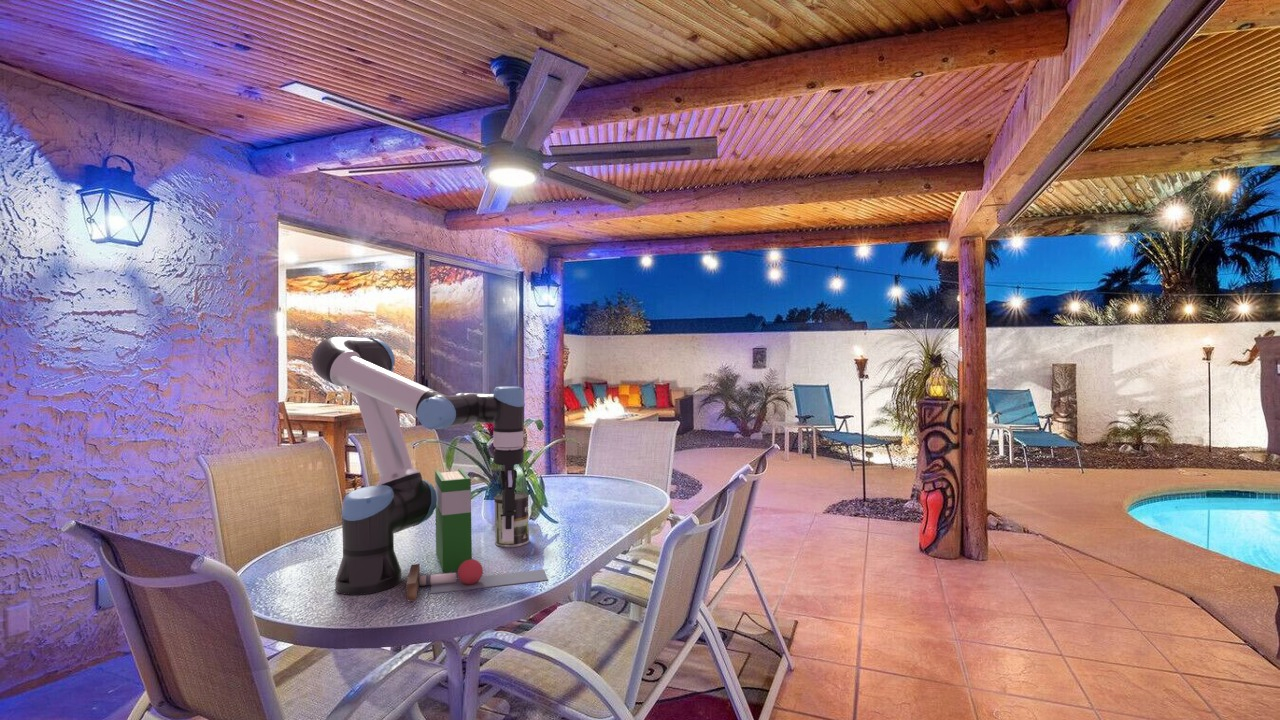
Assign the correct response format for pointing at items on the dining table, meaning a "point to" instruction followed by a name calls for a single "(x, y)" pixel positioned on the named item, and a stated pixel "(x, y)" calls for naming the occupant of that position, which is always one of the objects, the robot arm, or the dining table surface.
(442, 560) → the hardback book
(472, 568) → the ball
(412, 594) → the stopper wall
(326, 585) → the dining table surface
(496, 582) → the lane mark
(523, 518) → the coffee can
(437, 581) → the pin
